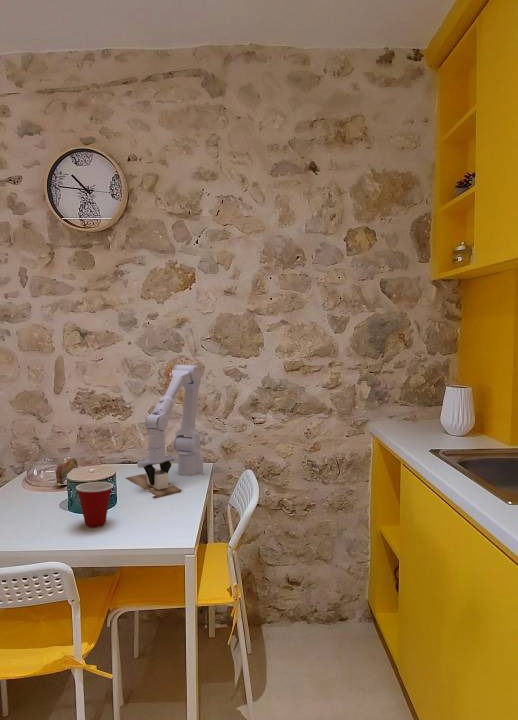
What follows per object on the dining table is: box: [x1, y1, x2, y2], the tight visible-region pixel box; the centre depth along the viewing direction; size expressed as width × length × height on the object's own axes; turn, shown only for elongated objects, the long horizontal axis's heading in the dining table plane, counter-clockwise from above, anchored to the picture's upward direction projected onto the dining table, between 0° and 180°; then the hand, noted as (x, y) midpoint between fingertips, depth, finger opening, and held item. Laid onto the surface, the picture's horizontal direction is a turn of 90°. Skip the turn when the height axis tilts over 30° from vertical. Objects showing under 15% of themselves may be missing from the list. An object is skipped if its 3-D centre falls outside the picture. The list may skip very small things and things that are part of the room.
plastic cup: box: [75, 481, 114, 528], centre depth 151 cm, size 11×11×12 cm
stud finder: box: [147, 468, 169, 490], centre depth 182 cm, size 4×9×5 cm, turn 38°
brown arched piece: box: [55, 458, 79, 484], centre depth 191 cm, size 15×3×8 cm, turn 179°
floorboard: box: [125, 472, 182, 499], centre depth 186 cm, size 10×26×1 cm, turn 39°
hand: (157, 483), depth 182 cm, fingers closed on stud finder, 4 cm apart
